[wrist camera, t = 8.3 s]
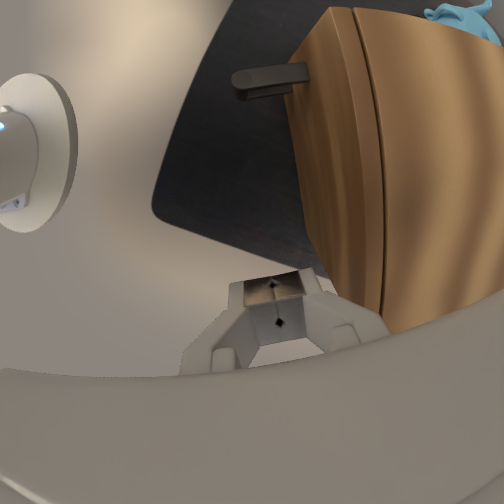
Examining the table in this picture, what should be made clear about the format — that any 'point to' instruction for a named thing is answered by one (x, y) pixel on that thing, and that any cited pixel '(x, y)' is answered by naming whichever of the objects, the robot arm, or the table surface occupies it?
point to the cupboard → (436, 163)
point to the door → (333, 150)
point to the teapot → (465, 19)
